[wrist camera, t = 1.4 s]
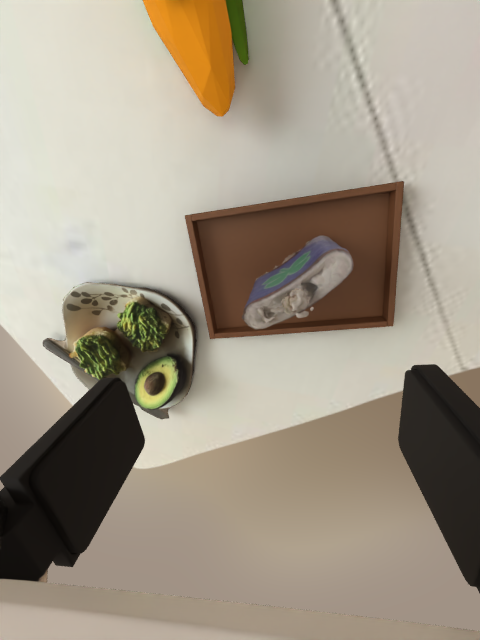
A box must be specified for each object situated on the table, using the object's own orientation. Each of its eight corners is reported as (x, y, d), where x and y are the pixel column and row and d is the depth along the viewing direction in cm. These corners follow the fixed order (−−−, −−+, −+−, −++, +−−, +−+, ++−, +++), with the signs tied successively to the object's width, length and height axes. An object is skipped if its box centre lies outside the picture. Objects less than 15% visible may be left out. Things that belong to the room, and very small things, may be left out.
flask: (324, 229, 26) (350, 246, 16) (340, 254, 27) (373, 284, 17) (247, 283, 29) (231, 324, 20) (263, 304, 30) (255, 354, 20)
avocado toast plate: (60, 385, 39) (34, 408, 35) (43, 264, 32) (7, 273, 28) (190, 415, 38) (179, 441, 34) (203, 296, 31) (191, 310, 27)
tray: (395, 182, 24) (404, 180, 22) (387, 319, 29) (393, 326, 27) (190, 214, 28) (184, 215, 26) (213, 332, 33) (210, 339, 31)
